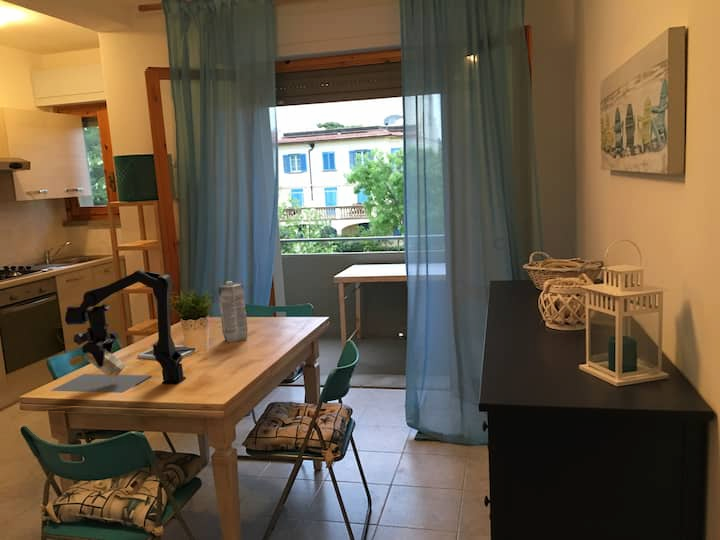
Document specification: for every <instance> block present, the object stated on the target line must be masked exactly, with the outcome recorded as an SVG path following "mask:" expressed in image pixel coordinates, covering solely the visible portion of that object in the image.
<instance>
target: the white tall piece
mask: <svg viewBox="0 0 720 540" xmlns="http://www.w3.org/2000/svg"><path fill="white" fill-rule="evenodd" d="M83 359H85V360H86V361H87V362H89V363H90V364H92V365H93V367H96V368H97V369H98V370H99V371H101V372H102V373H104V374H106V375H108V376H109V377H110V378H112V379H114V378H115V377H116V376H117V375H120V373H121V372H122V371H123V370H124V369H125V367H126V366H127V365H126V364H125V363H124V362H123V361H121V360H120V359H119V358H117V357H116V356H115V355H113V354H112V352H111V353H109V352H108V351H107V350H106V351H105V356H104V362H103V366H102V367H99V366H98V364H97V362H96V360H95V358H94V356H93V355H92V354H91V353H85V355H84V357H83Z"/></svg>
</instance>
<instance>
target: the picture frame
mask: <svg viewBox="0 0 720 540" xmlns="http://www.w3.org/2000/svg"><path fill="white" fill-rule="evenodd" d="M174 346H175V350H176V351H177V352H178V353H179V354H181V355H182V356H183V357H185V356H187V357H189V356H191V355H193V354H195V353H196V352H195V348H187V347H185V346H186V345H175V344H174ZM194 352H195V353H194ZM192 353H193V354H192ZM153 354H154V349H153V348H151V349H149V350H146V351H143V352H141V353H138V354H137V356H136V357H137V359H141V358H148V359H147V360H154V359H155V356H153ZM190 354H191V355H190ZM188 355H189V356H188ZM183 357H182V358H183ZM185 358H186V357H185ZM183 359H184V358H183Z"/></svg>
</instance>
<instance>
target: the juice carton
mask: <svg viewBox="0 0 720 540" xmlns="http://www.w3.org/2000/svg"><path fill="white" fill-rule="evenodd" d="M217 290H218V300H219V310H220V312H219V313H220V321H221V330H222V335H223V337H224V340H225V341H226V342H228V343H233V342H234V343H235V342H240V341H245V340H247V339H248V319H247V309H246V302H245V301H246V299H245V292H244V285H243V284H241V283H239V282H234V283H233V281H232V280H230V281H229V280H228V281H226V282H225V284H219V285H218V289H217Z"/></svg>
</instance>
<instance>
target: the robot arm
mask: <svg viewBox="0 0 720 540" xmlns="http://www.w3.org/2000/svg"><path fill="white" fill-rule="evenodd" d="M137 283H139V284H142V285H144V286H146V287H147V288H150V289H152V291H153V297H154V298H155V299H156V300H155V301H156V306H157V311H156V312H157V331H158V332H157V333H158V339H157V341H156V342H155V343H154V344H152V349H154V354H153V356H155V359H156V360H155V361H156V362H157V363H158V364H159V365H160V367H161V375H162V382H161V384H163V385H164V384H165V385H166V384H169V385H177V384H180V383H181V382H182V381H183V380H184V381H185V380H186V379H187V377H186V376H184V371H183V363H181V362H182V360H183V359H182V357H183V356H182V355H181V354H179V353H178V352H177V351H176V350H175V346H174V345H175V343H174V340H173V338H172V332H171V329H172V328H171V327H172V326H171V325H172V324H171V305H170V304H171V303H170V302H171V296H172V292H173V286H174V280H173V278H172V277H171V275H169V274H166V273H165V274H160V273H157V272H152V271H147V270H145V269H137V270H136V271H134V272H133V273H131V274H129V275H127V276H124V277H121V279H118V280H116V281H114V282H111V283H110V284H105V285H103V286H102V285H101V286H98V287H94V288H91V289H90V290H88V291H86V292H84V293H83V297H82V298H83V299H82V302H81V304H80V305H78V306H77V305H76V306H74V305H73V306H68V307H66V312H65V317H64V320H65V323H66V325H67V326H78V325H86V324H87V322H88V325H89V326H88V327H87V329H86V331H85V332H81V333H80V332H78V333H76V334H73V343H74V344H77V346H80V345H81V344H83V343H85V344H83V345H81V353H82V354H87V353H91V354H92V355H93V356H94V358H95V360H96V362H97V364H98V366H99V367H102V366H103V362H104V356H105V351H106V350H107V351H108V352H109V353H111V354H112V351H113V349H114V346H115V343H116V340H118V339H119V333H118V332H117V331H114V330H113V331H108V328H109V327H110V324H109V323H108V322H107V315H106V312H107V311H109V310H110V309H111V307H110V306H109V305H107V304H106V303H103V302H104V301H106V300H107V299H109V298H110V297H111V296H112V295H114V294H116V293H118V292H120V291H122V290H125V289H126V288H128V287H130V286H133V285H135V284H137ZM101 303H103V304H102V305H99V304H101ZM91 307H93V308H91ZM112 339H113V341H112Z"/></svg>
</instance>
